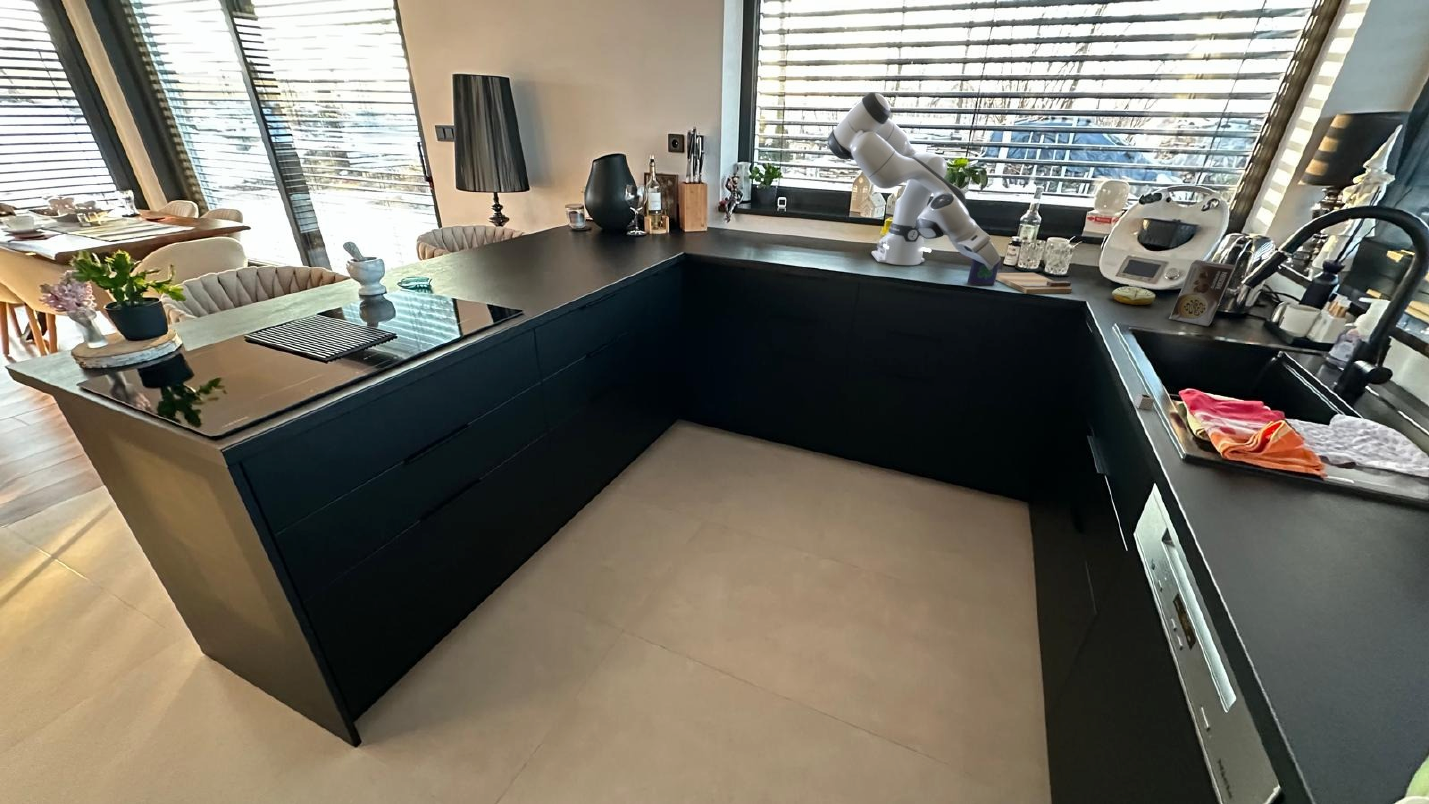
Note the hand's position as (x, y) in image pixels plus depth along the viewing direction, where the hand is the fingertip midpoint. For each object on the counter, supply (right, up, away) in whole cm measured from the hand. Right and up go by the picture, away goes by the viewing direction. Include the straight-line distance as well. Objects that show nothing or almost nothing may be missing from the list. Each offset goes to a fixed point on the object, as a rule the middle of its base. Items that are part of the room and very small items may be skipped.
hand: (987, 266), depth 185 cm
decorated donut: (+39, -14, -11) cm, 43 cm away
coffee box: (+45, -22, -27) cm, 56 cm away
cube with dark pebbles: (-7, -46, -75) cm, 89 cm away
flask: (-1, -5, +3) cm, 6 cm away
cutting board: (+16, -5, +4) cm, 17 cm away
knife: (+17, -7, -3) cm, 19 cm away
